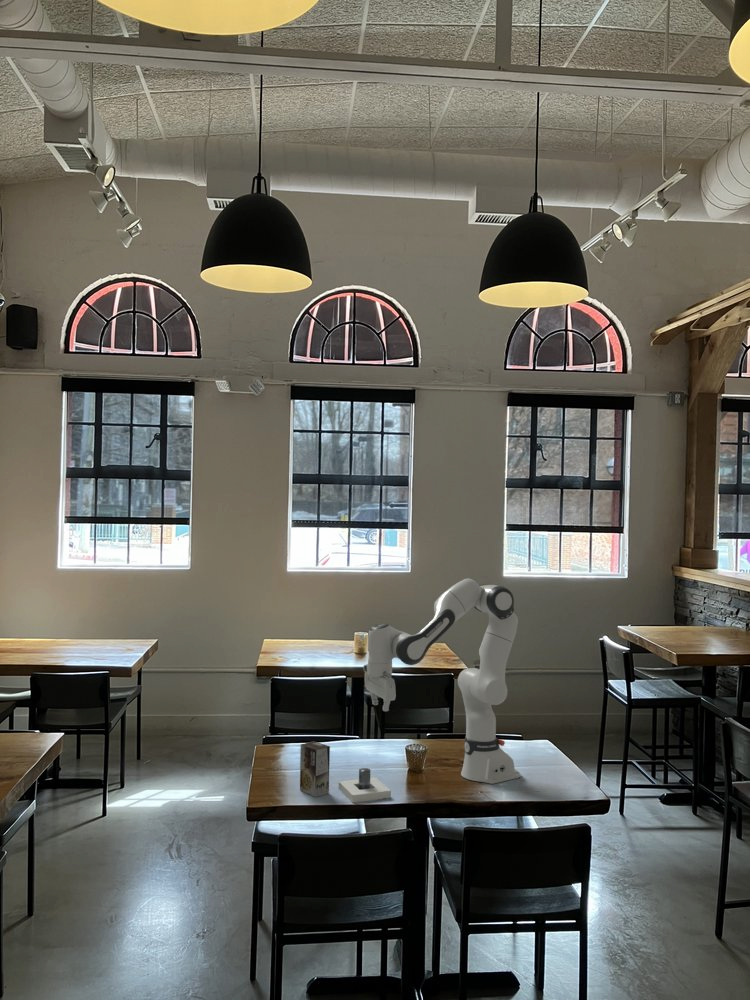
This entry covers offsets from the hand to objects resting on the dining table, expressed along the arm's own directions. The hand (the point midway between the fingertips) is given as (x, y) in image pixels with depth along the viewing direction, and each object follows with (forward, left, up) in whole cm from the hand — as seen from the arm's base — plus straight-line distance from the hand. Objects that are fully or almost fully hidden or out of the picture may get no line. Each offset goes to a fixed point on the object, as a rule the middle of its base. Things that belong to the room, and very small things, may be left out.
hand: (380, 707), depth 271 cm
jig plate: (+9, +7, -27) cm, 29 cm away
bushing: (+9, +7, -27) cm, 29 cm away
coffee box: (+25, 0, -27) cm, 37 cm away
